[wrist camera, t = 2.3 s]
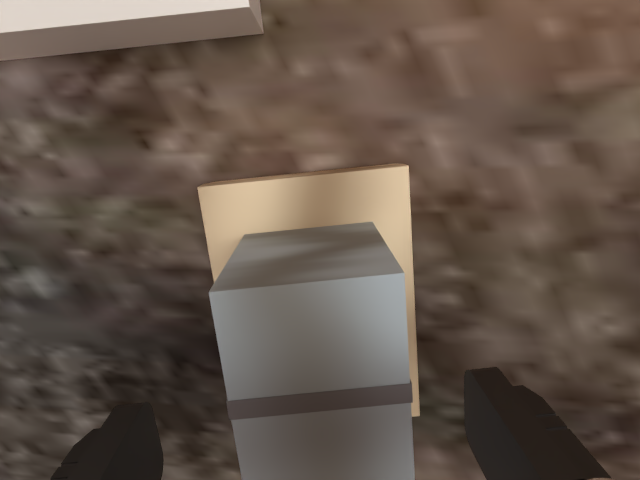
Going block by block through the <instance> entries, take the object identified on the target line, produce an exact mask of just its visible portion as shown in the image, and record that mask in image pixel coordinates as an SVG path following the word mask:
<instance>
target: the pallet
mask: <svg viewBox="0 0 640 480" xmlns="http://www.w3.org/2000/svg"><path fill="white" fill-rule="evenodd" d="M197 188H198V194H199V199H200V205H201V211H202V217H203V223H204V228H205V234H206V240H207V246H208V251H209V257H210V263H211V269H212V274H213V280H214V284H213V286H212V288H211V289H210V291H209V297H210V303H211V309H212V314H213V320H214V326H215V331H216V337H217V342H218V348H219V354H220V359H221V365H222V370H223V376H224V382H225V387H226V393H227V400H226V404H227V410H228V416H229V420H231V421H232V427H233V432H234V438H235V443H236V449H237V455H238V460H239V466H240V471H241V477H242V480H415V472H414V452H413V432H412V417H414V416H420V410H419V388H418V365H417V343H416V321H415V298H414V276H413V254H412V232H411V209H410V187H409V166H408V165H405V164H398V163H393V164H383V165H373V166H363V167H354V168H344V169H334V170H324V171H314V172H304V173H294V174H285V175H275V176H265V177H255V178H245V179H235V180H225V181H216V182H211V183H206V184H202V185H201V186H199V187H197Z"/></svg>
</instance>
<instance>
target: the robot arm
mask: <svg viewBox="0 0 640 480" xmlns="http://www.w3.org/2000/svg"><path fill="white" fill-rule="evenodd" d="M464 411H465V430H466V435H467V439H468V442H469V445H470V447H471V450H472V452H473V454H474V456H475V458H476V460H477V462H478V463H479V465H480V467H481V469H482V471H483V473H484V475H485V477H486V479H487V480H615V479H612V478H611V477H610V476H609V475H608V474H607V472H606V471H605V470H604V469H603V468H602V467H601V465H600V464H599V463H598V462H597V461H596V460H595V458H594V457H593V456H592V455H591V454H590V453H589V451H588V450H587V449H586V448H585V447H584V446H583V444H582V443H581V442H580V441H579V440H578V439H577V437H576V436H575V435H574V434H573V433H572V432H571V430H570V429H567V426H566V425H565V423H564V422H563V421H562V420H561V419H560V418H559V416H556V414H555V412H554V411H553V409H552V408H551V407H550V406H549V405H548V404H547V403H546V401H545V400H544V399H543V398H542V397H541V396H539V395H537V394H536V393H534V392H533V391H531V390H529V389H528V388H526V387H524V386H523V385H522V386H512V385H511V384H510V382H509V381H508V380H507V378H506V377H505V376H504V375H503V373H502V372H501V371H500V370H499V369H498V368H497V367H492V368H482V369H472V370H466V372H465V376H464ZM61 464H62V465H61V467H58V469H57V470H56V472H55V473H54V474H53V476H52V477H51V480H161V476H162V472H163V452H162V447H161V443H160V439H159V434H158V430H157V426H156V422H155V417H154V413H153V409H152V407H151V405H150V404H149V403H148V402H146V403H136V404H126V405H118V406H116V407H115V408H114V409H113V410H112V412H111V413H110V415H109V416H108V418H107V419H106V421H105V422H104V424H103V425H102V427H101V428H99V429H93V430H92V431H91V432H90V433H88V434H87V435H86V436H85V437H84V438H82V439H81V440H80V441H79V442H78V443H76V444H75V445H74V446H73V448H72V449H71V451H70V452H69V453H68V455H67V456H66V458H65V459H64V460H63V462H62V463H61Z"/></svg>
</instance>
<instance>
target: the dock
mask: <svg viewBox="0 0 640 480" xmlns="http://www.w3.org/2000/svg"><path fill="white" fill-rule="evenodd" d="M255 34H264V31H263V23H262V15H261V7H260V0H0V61H7V60H16V59H26V58H35V57H45V56H54V55H64V54H74V53H83V52H93V51H102V50H112V49H121V48H131V47H141V46H150V45H160V44H169V43H179V42H188V41H198V40H208V39H217V38H227V37H236V36H246V35H255Z"/></svg>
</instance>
